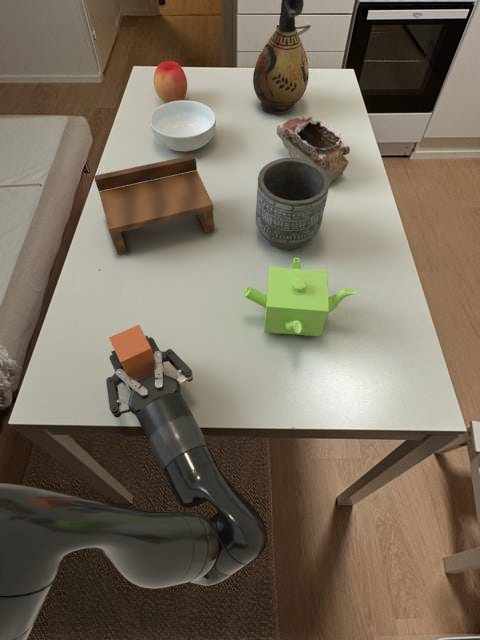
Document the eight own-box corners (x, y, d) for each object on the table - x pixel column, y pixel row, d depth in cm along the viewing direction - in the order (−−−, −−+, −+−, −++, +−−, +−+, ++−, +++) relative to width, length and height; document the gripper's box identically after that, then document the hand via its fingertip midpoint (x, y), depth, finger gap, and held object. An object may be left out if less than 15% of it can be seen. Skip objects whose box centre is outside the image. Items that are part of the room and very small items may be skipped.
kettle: (345, 322, 81) (359, 286, 71) (295, 365, 75) (303, 333, 66) (290, 277, 87) (296, 239, 77) (240, 314, 81) (240, 278, 72)
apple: (155, 94, 126) (150, 58, 117) (187, 91, 127) (183, 56, 118) (157, 111, 120) (152, 75, 112) (190, 108, 121) (187, 72, 113)
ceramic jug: (308, 120, 119) (327, -6, 94) (254, 121, 118) (259, -5, 93) (299, 89, 128) (315, -34, 103) (249, 90, 127) (253, -33, 102)
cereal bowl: (158, 165, 107) (153, 140, 101) (150, 128, 116) (146, 103, 110) (222, 156, 109) (221, 131, 103) (210, 121, 118) (208, 96, 112)
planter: (328, 228, 95) (342, 173, 82) (297, 267, 88) (308, 214, 76) (275, 204, 99) (281, 148, 86) (242, 240, 92) (243, 185, 80)
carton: (136, 394, 72) (120, 362, 62) (125, 371, 74) (108, 337, 64) (162, 381, 73) (151, 348, 63) (151, 359, 76) (138, 324, 66)
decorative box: (302, 197, 100) (308, 162, 92) (262, 152, 110) (264, 117, 102) (347, 181, 104) (356, 146, 96) (303, 139, 114) (309, 104, 106)
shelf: (118, 256, 89) (104, 217, 80) (107, 215, 96) (93, 175, 87) (214, 232, 94) (212, 193, 84) (197, 194, 101) (193, 154, 91)
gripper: (214, 400, 60) (166, 315, 68) (121, 449, 56) (81, 353, 64) (216, 418, 66) (171, 339, 74) (132, 463, 62) (95, 374, 70)
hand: (130, 346), depth 69 cm, fingers closed on carton, 5 cm apart
